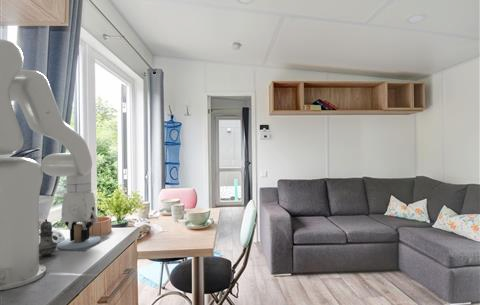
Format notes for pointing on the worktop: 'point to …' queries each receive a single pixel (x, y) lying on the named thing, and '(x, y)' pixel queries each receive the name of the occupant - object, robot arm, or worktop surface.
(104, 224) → the bowl
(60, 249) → the mat
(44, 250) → the grey stone tower figurine
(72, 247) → the lid
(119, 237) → the worktop surface
